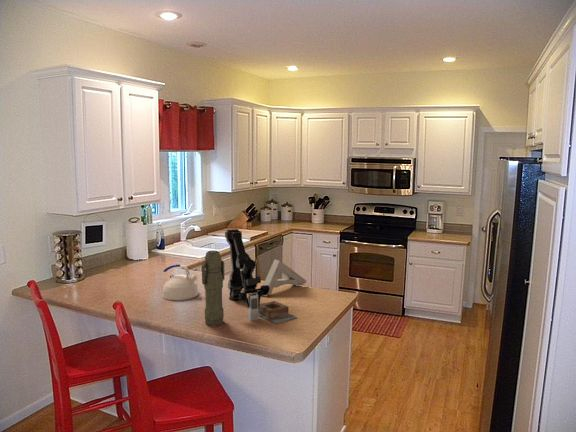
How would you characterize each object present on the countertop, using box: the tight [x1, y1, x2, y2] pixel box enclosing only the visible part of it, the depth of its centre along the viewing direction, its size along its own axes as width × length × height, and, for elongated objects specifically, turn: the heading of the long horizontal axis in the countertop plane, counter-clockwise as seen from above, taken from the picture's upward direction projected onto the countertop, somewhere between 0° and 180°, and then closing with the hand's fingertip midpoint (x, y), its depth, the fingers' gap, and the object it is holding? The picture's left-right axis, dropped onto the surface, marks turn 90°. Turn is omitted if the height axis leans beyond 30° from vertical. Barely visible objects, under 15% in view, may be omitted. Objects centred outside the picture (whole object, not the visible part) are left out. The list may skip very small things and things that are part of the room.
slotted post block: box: [258, 300, 298, 325], centre depth 228 cm, size 22×13×5 cm, turn 40°
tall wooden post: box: [247, 293, 259, 322], centre depth 222 cm, size 4×4×12 cm
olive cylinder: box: [201, 250, 226, 327], centre depth 216 cm, size 9×12×35 cm
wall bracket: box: [261, 258, 307, 298], centre depth 271 cm, size 22×4×30 cm
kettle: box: [162, 263, 199, 301], centre depth 260 cm, size 20×21×18 cm
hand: (254, 307), depth 221 cm, fingers open, 5 cm apart
